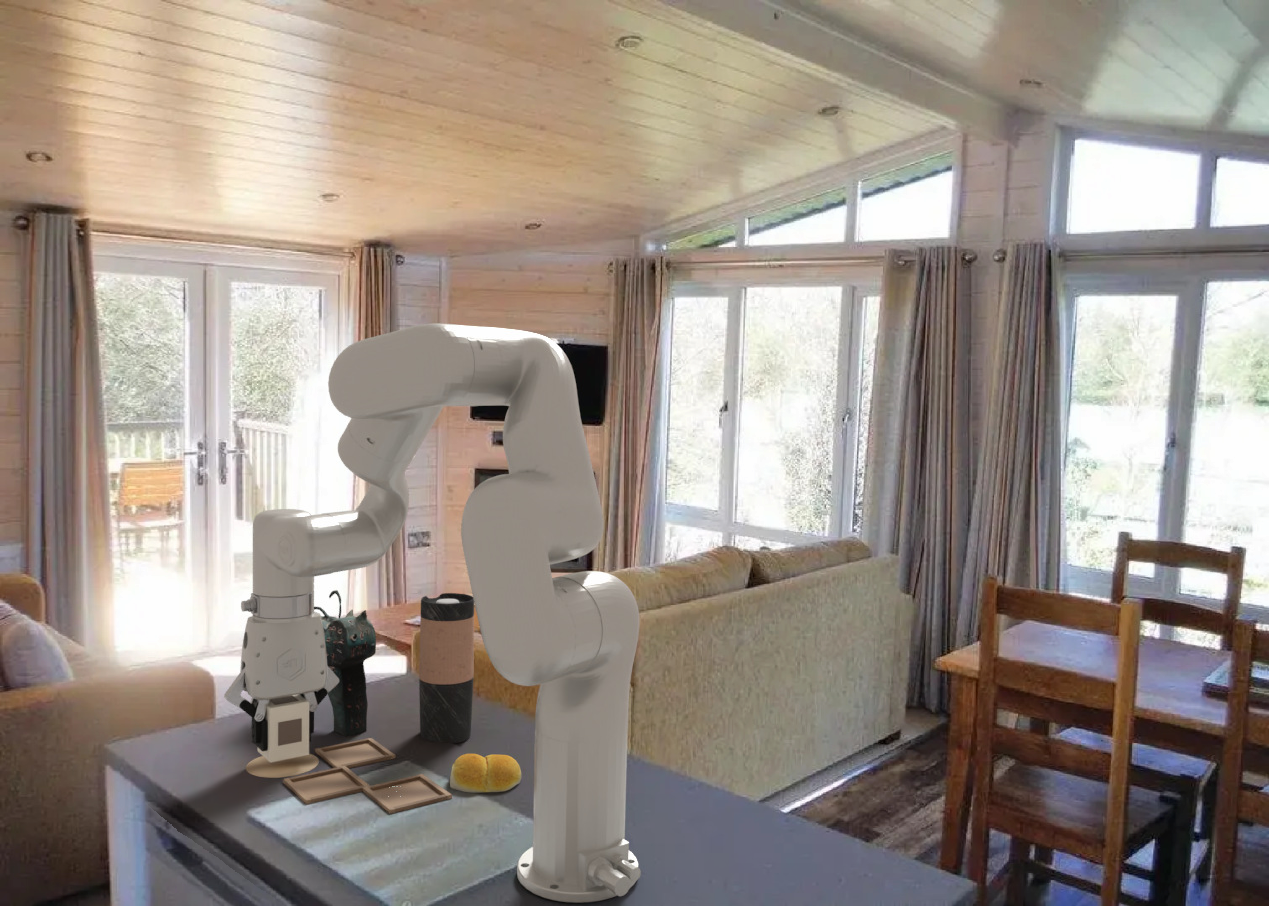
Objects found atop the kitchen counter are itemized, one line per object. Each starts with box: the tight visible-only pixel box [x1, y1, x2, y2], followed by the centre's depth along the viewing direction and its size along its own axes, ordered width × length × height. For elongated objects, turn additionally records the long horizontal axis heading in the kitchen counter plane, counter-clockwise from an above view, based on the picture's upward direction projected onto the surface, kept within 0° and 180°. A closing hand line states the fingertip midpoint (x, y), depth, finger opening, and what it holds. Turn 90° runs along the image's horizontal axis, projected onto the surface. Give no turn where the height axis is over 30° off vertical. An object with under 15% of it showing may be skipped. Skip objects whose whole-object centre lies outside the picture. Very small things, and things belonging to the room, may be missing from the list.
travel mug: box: [418, 592, 475, 745], centre depth 146 cm, size 8×8×20 cm
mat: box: [245, 753, 320, 779], centre depth 134 cm, size 9×9×1 cm
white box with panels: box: [257, 694, 310, 763], centre depth 133 cm, size 5×5×7 cm
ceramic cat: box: [314, 589, 377, 737], centre depth 151 cm, size 20×6×20 cm, turn 45°
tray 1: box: [314, 737, 397, 769], centre depth 138 cm, size 8×8×1 cm
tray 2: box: [282, 766, 371, 805], centre depth 127 cm, size 8×8×1 cm
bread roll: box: [449, 753, 522, 794], centre depth 130 cm, size 8×9×4 cm
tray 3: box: [362, 773, 453, 814], centre depth 125 cm, size 8×8×1 cm
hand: (283, 742), depth 133 cm, fingers closed on white box with panels, 4 cm apart
